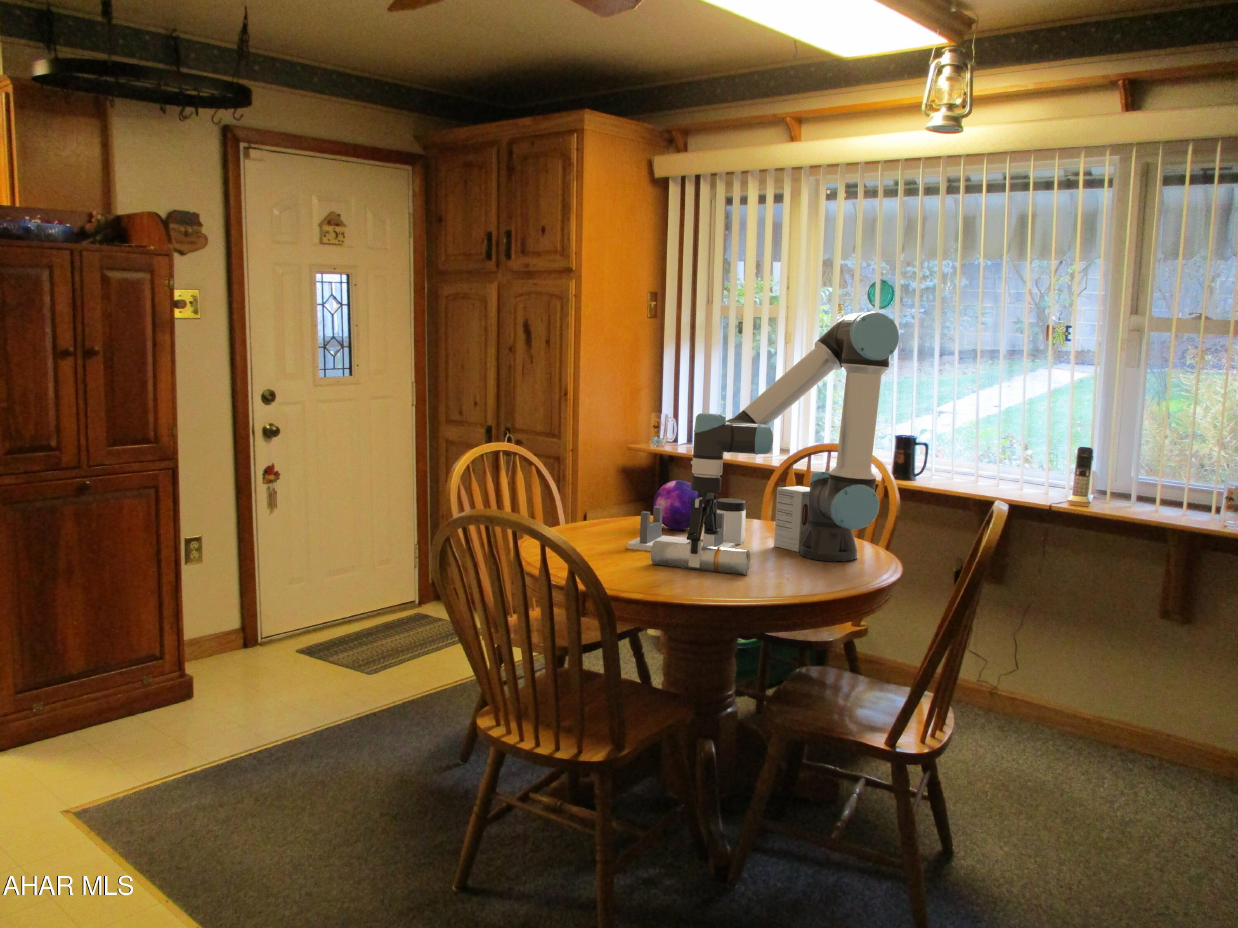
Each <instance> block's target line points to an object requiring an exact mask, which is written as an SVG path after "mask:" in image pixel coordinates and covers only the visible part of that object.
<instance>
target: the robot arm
mask: <svg viewBox="0 0 1238 928" xmlns="http://www.w3.org/2000/svg"><path fill="white" fill-rule="evenodd" d="M899 340H900V333H899V329H898V326H897V324H896V323H895V322H894V320H893V319H892V318H891V317H890V316H889V315H886V314H885V313H882V312H877V311H873V310H872V311H864V312H855V313H850V314H847V315H846V316H845V315H844V316H843V317H842V318H841V319H839V320H838V321H837V322H836V323H834V324H833V326H831V327H830V328H829V329H828V330H827V331H826V332H825V333H824V334H822V336H820V338H819V339H817V340H816V341H815V342H814V347H813V349H812V350H810V351H809V352H808V353H807V354H806V355H805V356H804V357H802V358H801V359H800V360H799V361H798V362H797V363H795V364H794V365H792V367H791V368H789V369H788V371H786V372H785V373H784V374H783V375H782V376H780V377H779V378H778V379H777V380H776V381H775V382H774V383H772V384H771V385H770V386H769V387H768V388H767V389H765V390H764V391H763V392H762V393H761V394H760V395H759V396H757V397H756V398H755V399H754V400H753V401H752V402H751V403H749V404H748V405H747V406H746V407H744V408H743V409H742V410H741V411H740V412H739V413H738V414H737V415H735V416H733V418H729V419H726V415H725V414H721V413H709V412H708V413H707V412H700V413H698V414H697V415H696V416H695V423H694V430H693V445H692V446H693V447H692V448H693V450H692V451H693V452H692V460H691V461H690V465H692V466H691V467H692V468H691V473H692V474H693V475H692V476H691V478H690V479H691V480H690V484H691V490H693V491H697V492H698V494H697V498H696V499H693V500H692V511H691V517H690V524H689V528H688V529H687V530H688V532H687V536H686V538H687V540H690V551H689V566H691V567H698V568H699V567H700V558H701V544H702V541H700V539H703V546H712V547H714V535H713V534H716V535H717V534H718V531H717V529H718V528H717V499H718V494H715V493H720V492H721V491H722V477H720V476H722V475H723V465H724V464H723V463H724V453H728V454H730V453H731V454H732V453H733V454H749V455H757V456H759V455H767V454H770V452H771V451H772V448H773V444H774V431H773V429H772V427H771V424H772V423H774V421H776V420H777V419H778V418H780V416H781V415H782V414H784V413H785V412H786V411H787V410H788V409H789V408H791V406H793V405H794V404H795V403H797V402H798V401H799V400H800V399H801V398H802V397H803V396H805V395H806V394H807V393H808V392H810V390H812V389H813V388H814V387H816V385H817V384H818V383H820V382H821V381H822V380H823V379H825V378H826V377H827V376H828V375H829V374H830V373H831V372H832V371H835V370H836V371H840V370H841V369H842V368H843V369H844V370H845V374H846V375H845V383H844V391H843V392H844V393H843V399H842V400H843V401H842V410H841V418H840V428H839V438H838V445H837V455H836V462H835V463H836V465H835V467H833V469H831V470H830V471H813V472H812V473H811V475H810V481H809V488H810V495H809V515H808V527H807V530H806V532H805V535H804V538H803V540H802V543H801V545H800V552H799V555H800V556H802V557H804V558H807V559H811V560H816V561H823V562H836V561H841V562H847V561H846V560H852V561H854V560H853V559H855V560H857V559H858V548H857V543H856V540H855V536H854V532H853V531H854V530H861V529H864V528H866V527H868V526H869V525H871V524H872V523H873V522H874V521H875V519H876V518H877V516H878V515H879V510H880V500H879V497H878V496H879V495H877V493H876V482H877V476H876V475H875V473H873V471H872V462H873V453H874V445H875V436H876V428H877V427H876V426H877V418H878V410H879V401H880V393H881V385H882V375H883V374H884V373H886V372H887V371H888V370H889V368H890V360H891V355H893V354H894V352H895V351H896V350H897V348H898V346H899V342H900V341H899ZM704 528H705V533H707V534H704V533H703V531H704ZM702 534H703V535H702ZM702 536H703V537H702ZM856 558H857V559H856Z"/></svg>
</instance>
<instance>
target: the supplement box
mask: <svg viewBox="0 0 1238 928" xmlns="http://www.w3.org/2000/svg"><path fill="white" fill-rule="evenodd" d="M809 495H810V486H809V487H807V486H803V485H795V486H786V487H784V486H783V487H780V486H779V487H777V489H776V505H775V520H774V521H775V524H774V536H773V537H774V539H773V540H774V541H773V547H776V548H780V549H786V550H789V551H794V552H797V553H800V545H801V543H802V540H803V538H804V535H805V532H806V530H807V527H808V515H809Z"/></svg>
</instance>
